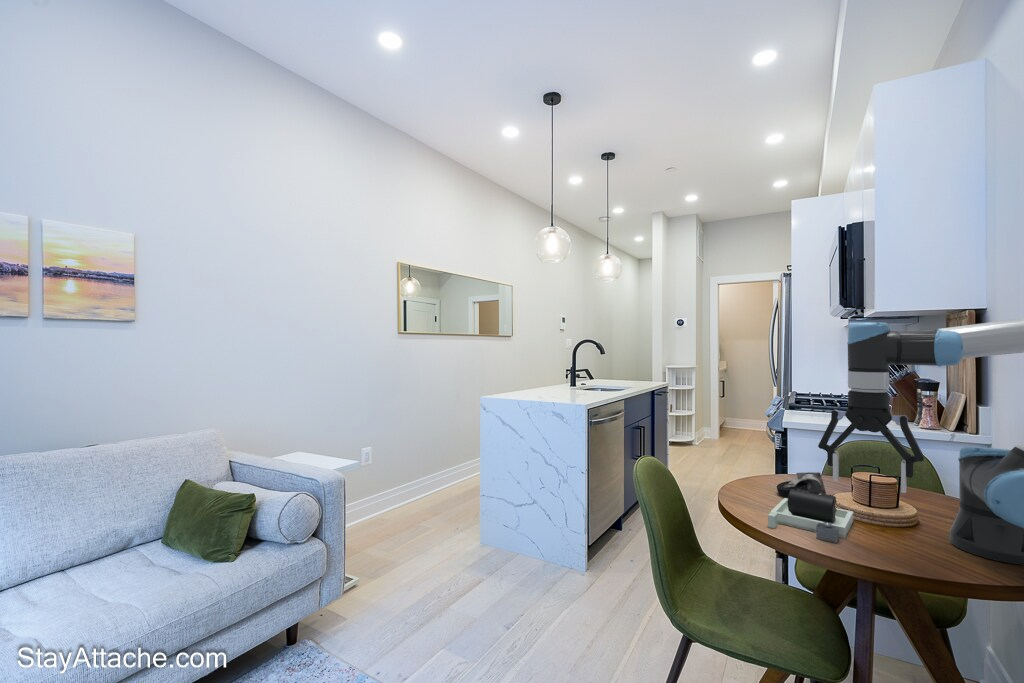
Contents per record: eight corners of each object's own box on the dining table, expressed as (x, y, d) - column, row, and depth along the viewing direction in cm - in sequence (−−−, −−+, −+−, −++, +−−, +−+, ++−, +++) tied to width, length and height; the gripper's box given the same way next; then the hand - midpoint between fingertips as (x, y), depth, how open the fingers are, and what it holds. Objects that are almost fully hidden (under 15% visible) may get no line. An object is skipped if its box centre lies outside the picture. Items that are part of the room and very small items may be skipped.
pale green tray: (853, 521, 123) (853, 510, 123) (841, 544, 109) (841, 531, 109) (784, 507, 134) (784, 496, 134) (765, 526, 120) (765, 514, 120)
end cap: (787, 517, 124) (787, 491, 124) (794, 510, 129) (794, 485, 129) (832, 527, 117) (832, 500, 117) (838, 520, 122) (838, 494, 122)
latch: (838, 539, 112) (838, 523, 112) (836, 543, 110) (836, 527, 110) (818, 534, 115) (818, 519, 115) (816, 538, 112) (816, 522, 112)
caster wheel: (777, 504, 144) (786, 492, 151) (818, 506, 136) (826, 493, 143) (771, 483, 144) (780, 472, 151) (812, 483, 136) (820, 471, 143)
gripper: (939, 392, 102) (940, 493, 102) (810, 386, 118) (810, 472, 118) (938, 395, 96) (939, 501, 96) (803, 388, 113) (803, 478, 113)
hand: (868, 485), depth 107 cm, fingers open, 12 cm apart
